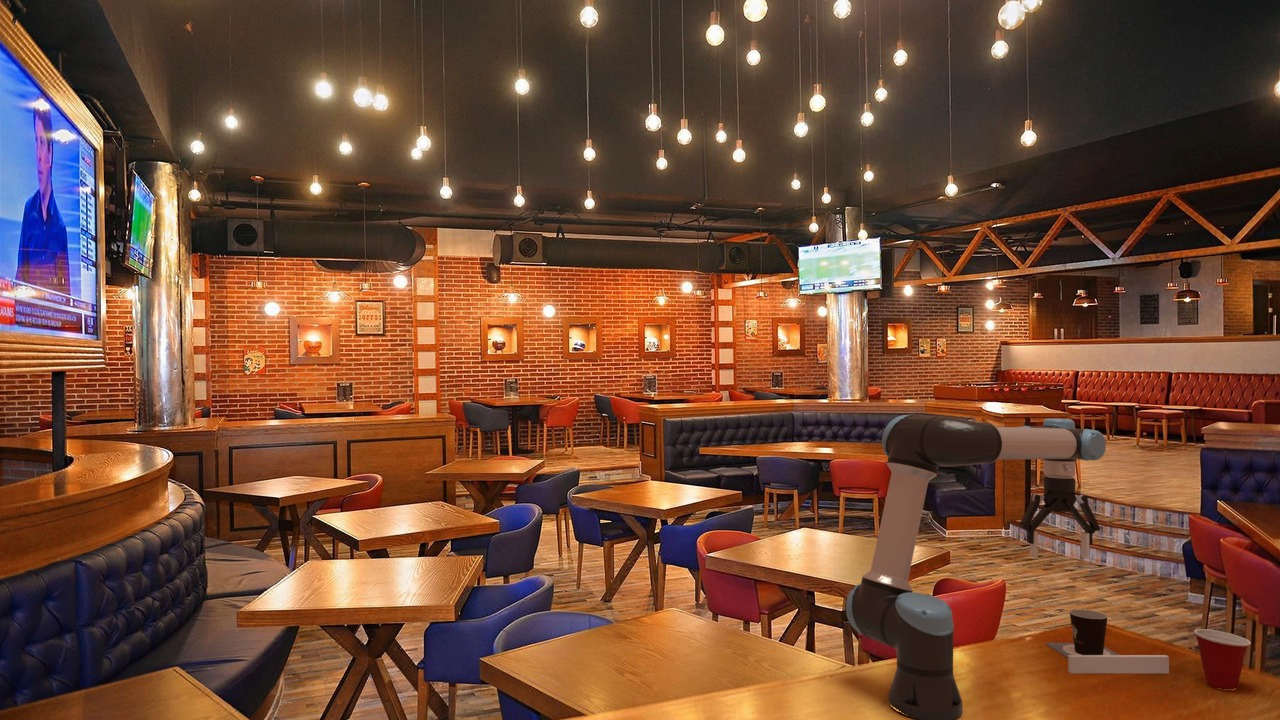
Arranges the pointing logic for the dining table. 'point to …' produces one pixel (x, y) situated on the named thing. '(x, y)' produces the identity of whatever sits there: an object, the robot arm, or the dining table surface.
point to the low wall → (1118, 664)
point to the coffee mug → (1088, 631)
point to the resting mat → (1072, 649)
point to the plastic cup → (1221, 657)
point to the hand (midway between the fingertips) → (1059, 556)
